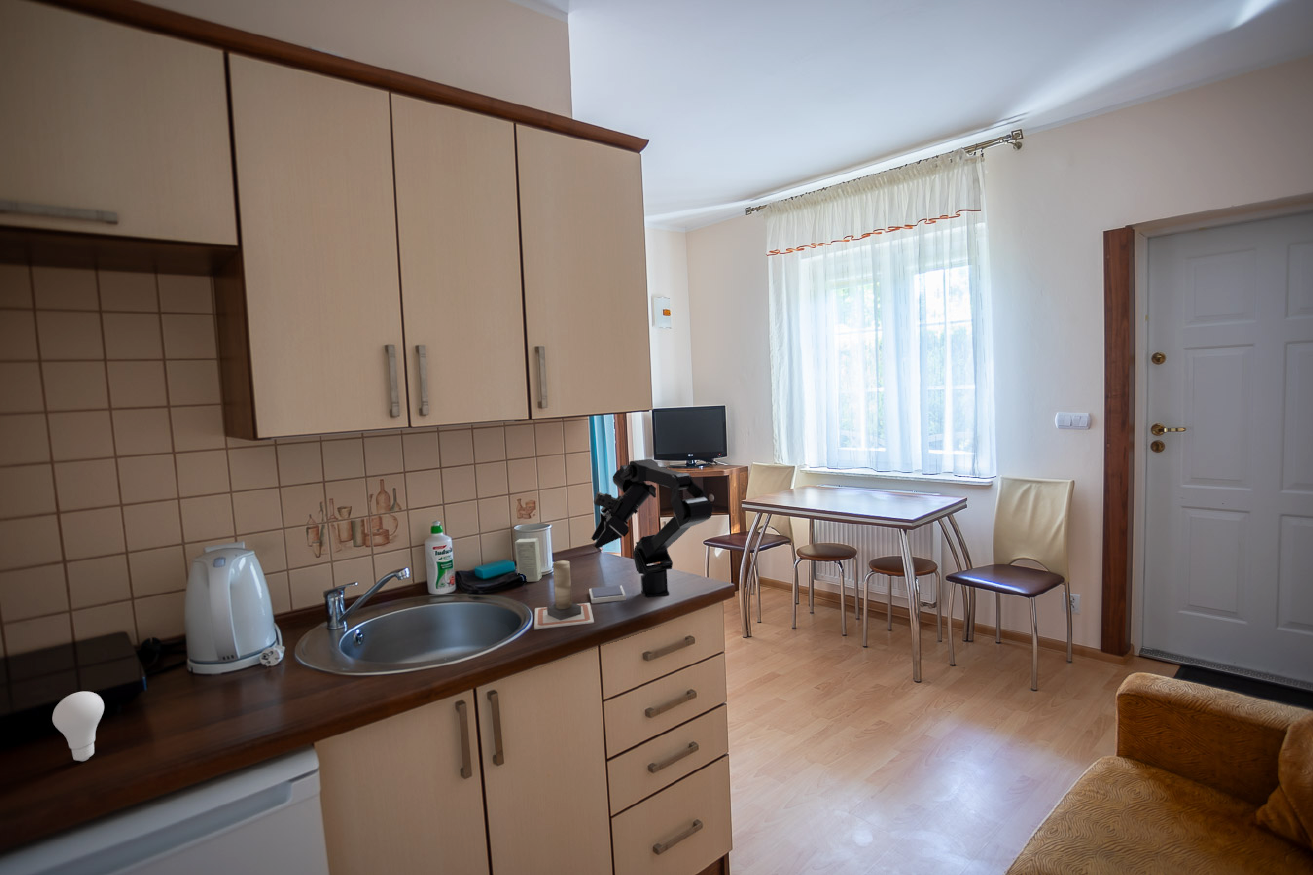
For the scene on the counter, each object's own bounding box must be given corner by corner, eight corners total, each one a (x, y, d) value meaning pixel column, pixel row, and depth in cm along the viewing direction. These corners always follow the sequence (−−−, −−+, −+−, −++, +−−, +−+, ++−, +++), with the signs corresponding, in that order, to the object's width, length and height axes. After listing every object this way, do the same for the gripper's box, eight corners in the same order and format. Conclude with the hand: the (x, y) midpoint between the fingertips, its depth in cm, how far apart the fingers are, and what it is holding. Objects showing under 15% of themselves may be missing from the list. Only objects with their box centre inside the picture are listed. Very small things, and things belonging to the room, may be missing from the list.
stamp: (567, 608, 163) (565, 558, 162) (581, 613, 158) (578, 562, 157) (547, 614, 159) (544, 563, 158) (560, 620, 154) (557, 567, 154)
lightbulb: (49, 767, 101) (41, 699, 100) (95, 746, 106) (87, 682, 106) (73, 774, 98) (64, 705, 98) (118, 752, 104) (111, 687, 103)
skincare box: (542, 577, 193) (539, 537, 192) (537, 581, 189) (535, 541, 188) (521, 577, 194) (519, 538, 193) (517, 582, 190) (514, 541, 189)
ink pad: (621, 589, 178) (621, 584, 177) (626, 599, 169) (625, 594, 169) (589, 592, 176) (589, 587, 176) (591, 603, 167) (591, 597, 167)
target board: (589, 604, 167) (589, 602, 167) (594, 622, 153) (593, 620, 153) (535, 609, 164) (534, 607, 164) (534, 629, 151) (534, 627, 150)
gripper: (606, 477, 185) (570, 518, 183) (614, 486, 166) (573, 531, 165) (634, 502, 187) (599, 542, 185) (645, 513, 168) (605, 558, 167)
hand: (593, 543), depth 176 cm, fingers open, 9 cm apart
